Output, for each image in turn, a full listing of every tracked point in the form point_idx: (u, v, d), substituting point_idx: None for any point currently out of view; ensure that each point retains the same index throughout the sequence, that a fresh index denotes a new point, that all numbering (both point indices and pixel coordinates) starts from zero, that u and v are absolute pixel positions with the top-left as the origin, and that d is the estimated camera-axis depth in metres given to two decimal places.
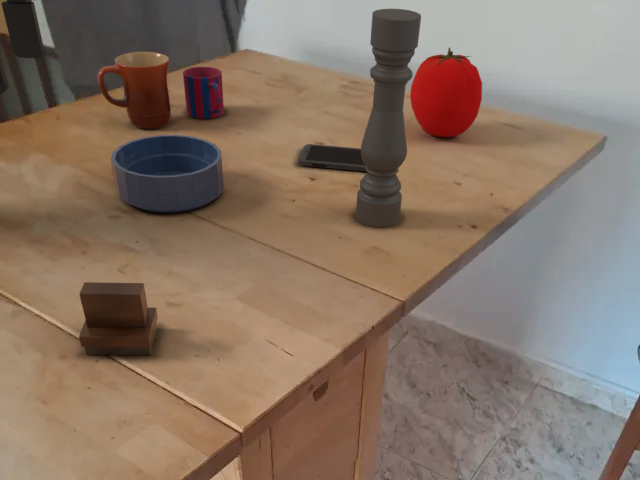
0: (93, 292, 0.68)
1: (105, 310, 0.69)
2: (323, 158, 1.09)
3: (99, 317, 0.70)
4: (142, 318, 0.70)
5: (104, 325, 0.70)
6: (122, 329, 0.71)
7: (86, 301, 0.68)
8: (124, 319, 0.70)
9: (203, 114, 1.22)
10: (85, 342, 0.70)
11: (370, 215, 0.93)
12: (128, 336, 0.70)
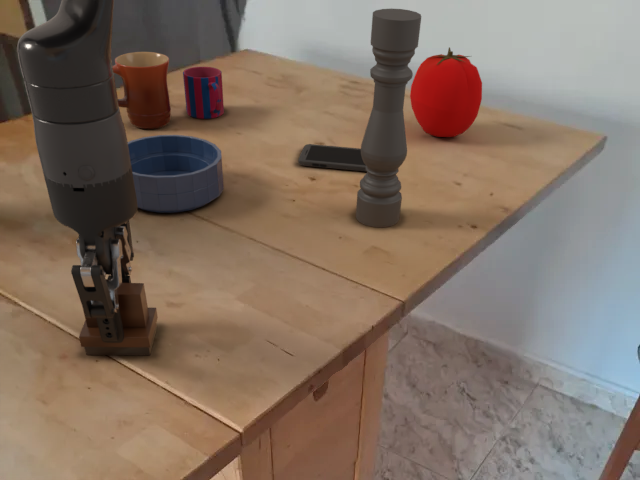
0: None
1: None
2: (323, 158, 1.09)
3: None
4: (142, 318, 0.70)
5: None
6: None
7: None
8: (124, 319, 0.70)
9: (203, 114, 1.22)
10: (85, 342, 0.70)
11: (370, 215, 0.93)
12: (128, 336, 0.70)
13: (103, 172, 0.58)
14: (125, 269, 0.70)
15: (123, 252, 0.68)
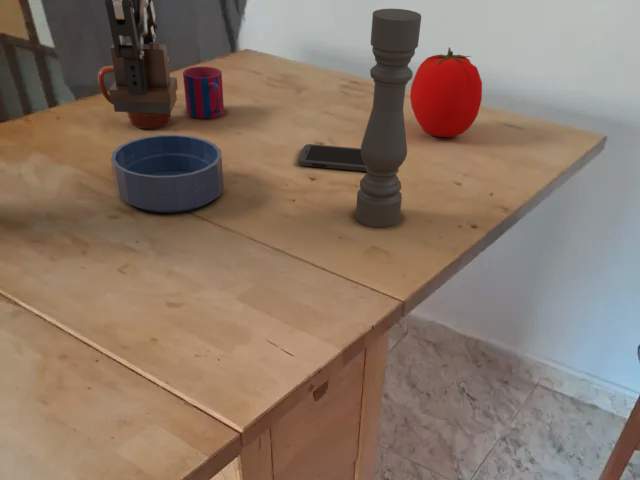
0: None
1: None
2: (323, 158, 1.09)
3: None
4: (164, 76, 0.80)
5: None
6: None
7: None
8: (148, 77, 0.80)
9: (203, 114, 1.22)
10: (114, 96, 0.80)
11: (370, 215, 0.93)
12: (152, 91, 0.79)
13: None
14: (150, 34, 0.80)
15: (148, 11, 0.78)
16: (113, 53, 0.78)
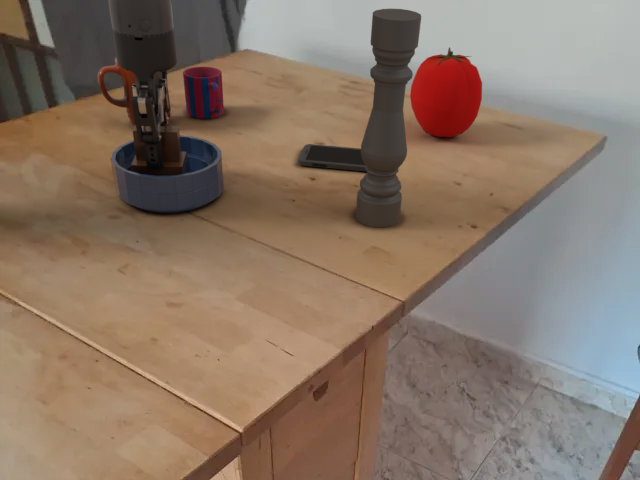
0: None
1: None
2: (323, 158, 1.09)
3: None
4: (177, 153, 0.95)
5: None
6: None
7: None
8: (164, 153, 0.95)
9: (203, 114, 1.22)
10: (135, 170, 0.95)
11: (370, 215, 0.93)
12: (167, 165, 0.95)
13: (156, 26, 0.83)
14: (164, 117, 0.95)
15: (164, 101, 0.93)
16: (135, 135, 0.93)
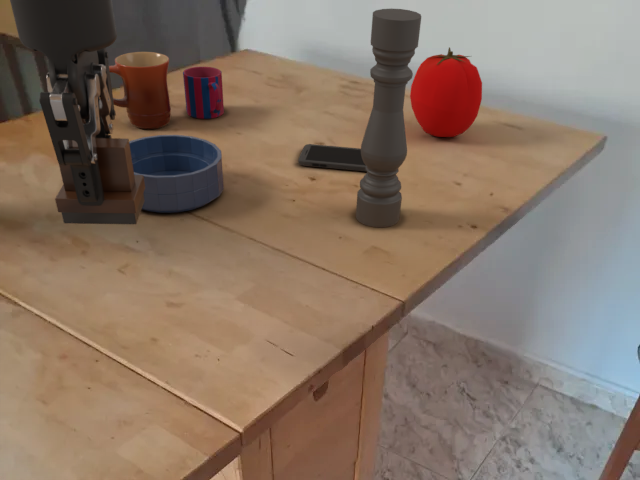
0: None
1: None
2: (323, 158, 1.09)
3: None
4: (127, 179, 0.62)
5: None
6: (104, 192, 0.62)
7: None
8: (106, 180, 0.62)
9: (203, 114, 1.22)
10: (62, 206, 0.62)
11: (370, 215, 0.93)
12: (111, 198, 0.61)
13: None
14: (105, 125, 0.62)
15: (102, 99, 0.60)
16: None
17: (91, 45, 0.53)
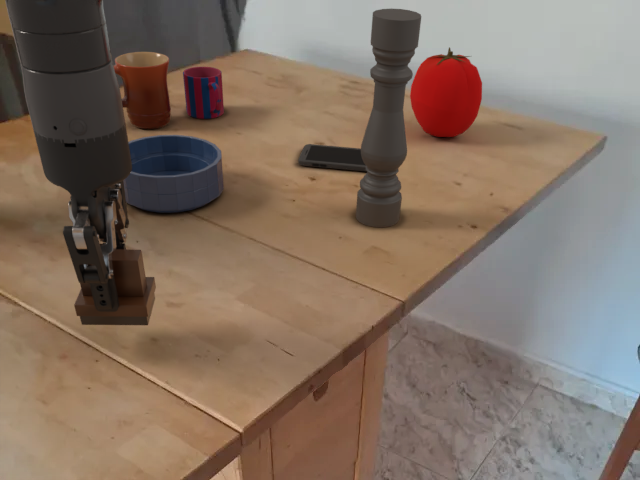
0: None
1: None
2: (323, 158, 1.09)
3: None
4: (140, 286, 0.68)
5: None
6: (119, 297, 0.68)
7: None
8: (121, 287, 0.68)
9: (203, 114, 1.22)
10: (81, 311, 0.67)
11: (370, 215, 0.93)
12: (125, 304, 0.67)
13: (95, 127, 0.55)
14: (120, 236, 0.68)
15: (117, 217, 0.65)
16: None
17: (109, 182, 0.58)
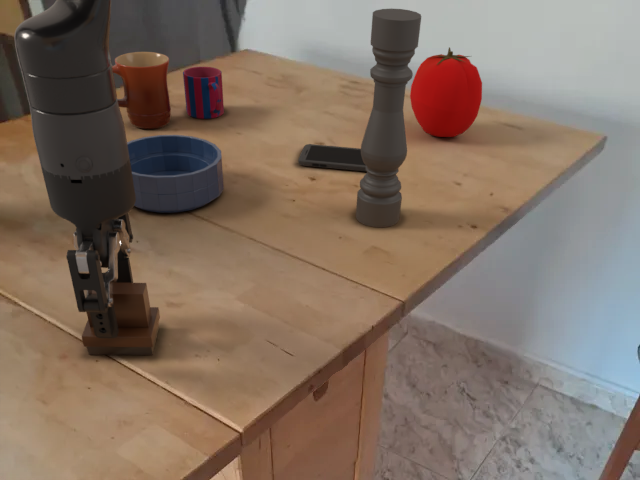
0: (95, 292, 0.68)
1: None
2: (323, 158, 1.09)
3: None
4: (145, 318, 0.70)
5: None
6: (124, 328, 0.71)
7: None
8: (127, 318, 0.70)
9: (203, 114, 1.22)
10: (88, 342, 0.70)
11: (370, 215, 0.93)
12: (131, 335, 0.70)
13: (101, 164, 0.57)
14: None
15: (122, 241, 0.68)
16: None
17: (114, 215, 0.60)
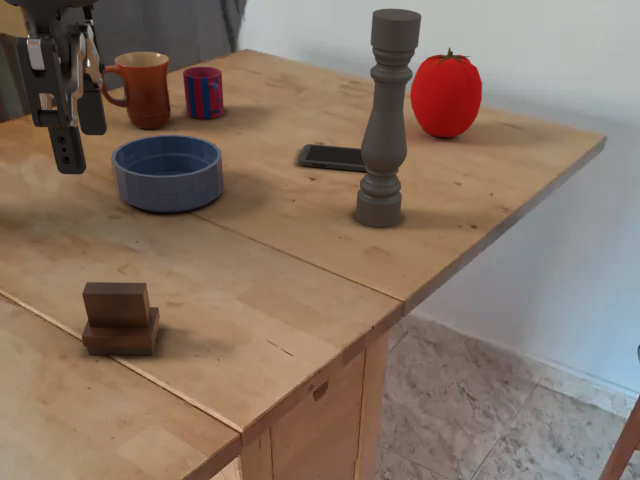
0: (95, 292, 0.68)
1: (107, 310, 0.69)
2: (323, 158, 1.09)
3: (102, 317, 0.70)
4: (145, 318, 0.70)
5: (107, 325, 0.70)
6: (124, 328, 0.71)
7: (89, 301, 0.68)
8: (127, 318, 0.70)
9: (203, 114, 1.22)
10: (88, 342, 0.70)
11: (370, 215, 0.93)
12: (131, 335, 0.70)
13: None
14: None
15: (90, 59, 0.56)
16: (85, 298, 0.68)
17: (75, 0, 0.49)
